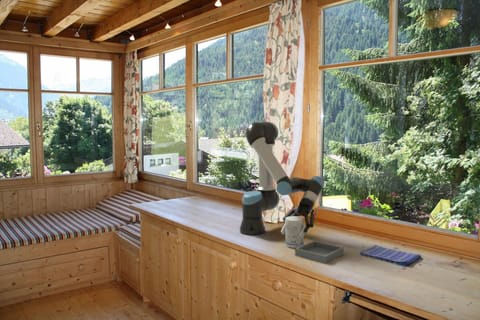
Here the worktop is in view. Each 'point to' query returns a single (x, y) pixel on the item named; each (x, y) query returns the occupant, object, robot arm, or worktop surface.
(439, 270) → the worktop surface
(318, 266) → the worktop surface
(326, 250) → the tray
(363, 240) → the worktop surface
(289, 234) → the supplement tub
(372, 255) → the dish towel
